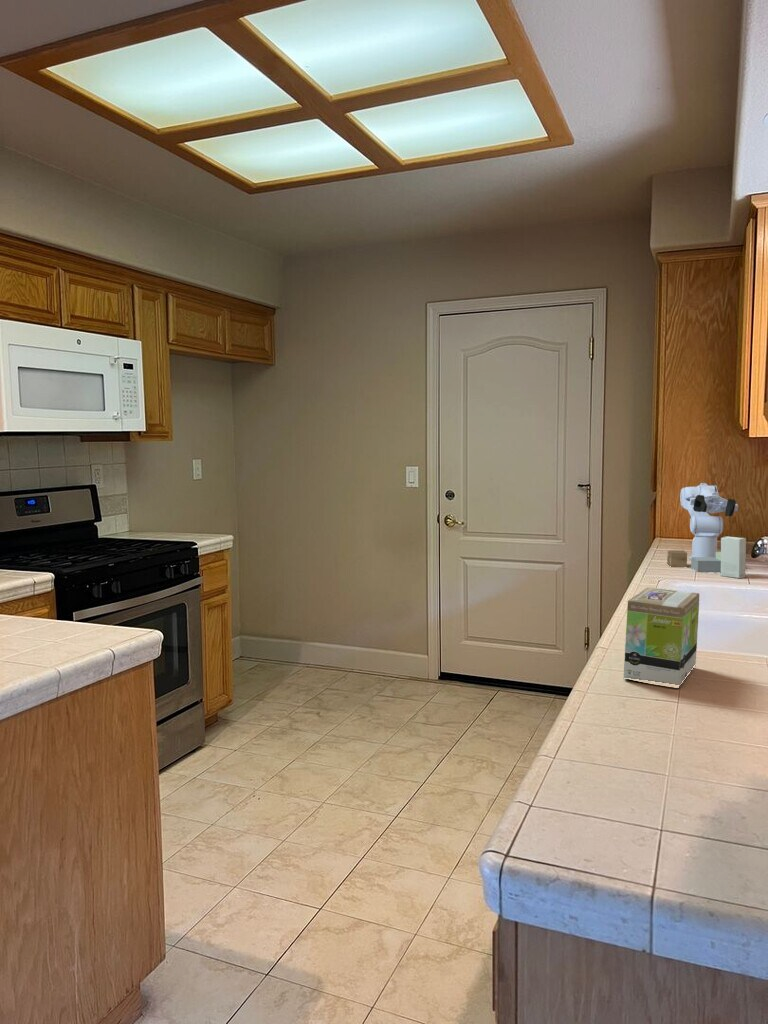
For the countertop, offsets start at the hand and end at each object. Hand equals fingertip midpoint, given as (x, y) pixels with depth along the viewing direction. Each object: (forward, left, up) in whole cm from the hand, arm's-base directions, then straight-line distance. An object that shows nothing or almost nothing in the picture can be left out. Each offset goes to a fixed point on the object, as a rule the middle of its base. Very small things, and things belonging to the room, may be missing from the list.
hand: (718, 510), depth 238 cm
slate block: (-2, -3, -20) cm, 20 cm away
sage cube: (-7, +5, -20) cm, 21 cm away
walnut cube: (-9, -10, -20) cm, 24 cm away
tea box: (+108, -42, -20) cm, 118 cm away
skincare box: (+8, +2, -20) cm, 21 cm away
